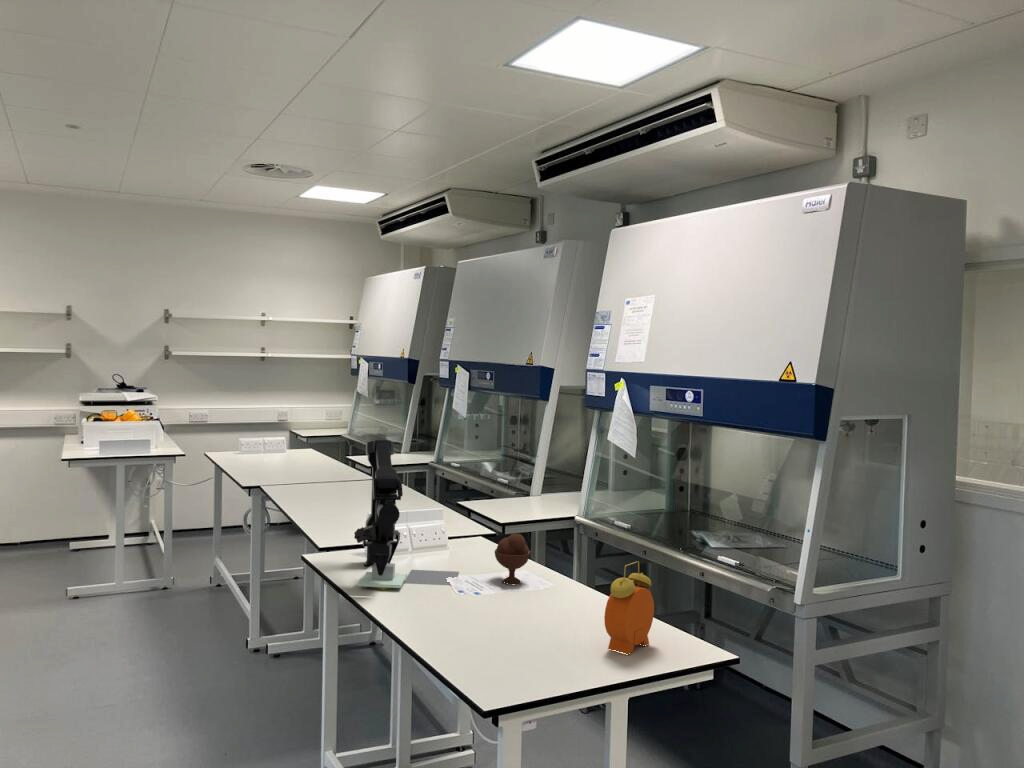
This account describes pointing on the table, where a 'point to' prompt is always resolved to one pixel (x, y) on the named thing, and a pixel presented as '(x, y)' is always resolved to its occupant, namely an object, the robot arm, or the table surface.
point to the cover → (383, 578)
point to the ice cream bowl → (512, 555)
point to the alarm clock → (629, 612)
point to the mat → (430, 577)
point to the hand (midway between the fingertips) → (383, 571)
